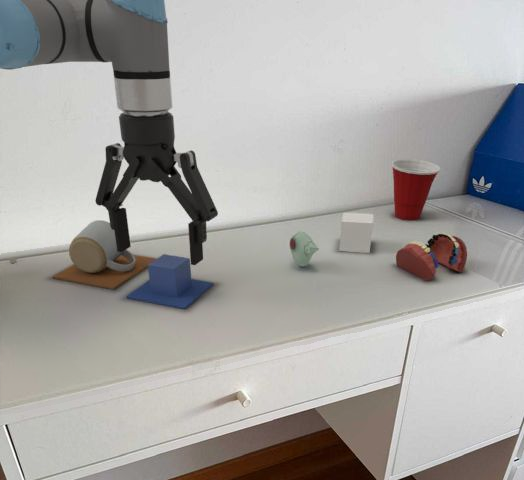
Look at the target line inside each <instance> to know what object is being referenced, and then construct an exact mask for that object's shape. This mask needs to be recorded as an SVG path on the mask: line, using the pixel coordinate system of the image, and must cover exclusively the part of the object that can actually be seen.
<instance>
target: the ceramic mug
mask: <svg viewBox="0 0 524 480" xmlns="http://www.w3.org/2000/svg"><path fill="white" fill-rule="evenodd" d="M68 254H69V258H70V260H71V262H72V263H73V265H75V266H76V267H78V268H79V269H80V270H82V271H84V272H87V273H98V272H100V271H102V270H104V269H105V268H107V267H109V268H110V269H112V270H116V271H119V272H126V271H130V270H132V269H133V267H134V264H135V261H136V260H135V257H134V255H135V254H133V253H132V252H131V251H130V250H129V249H126V250H124V251H122V252H117V245H116V238H115V231H114V230H112V229H111V227H110V221H106V220H101V219H99V220H93V221H91V222H89V223H88V224H87V225H86V227H84V228H83V229H82V230H81V231H80V232H79V233H78V234H76V236H75V237H73V239H72V240H71V243H70V244H69V247H68ZM120 255H123V256H124V257H126V258H127V259H128V260H129V261H130V262H131V264H128V265H122V264H118V263H115V262H114V261H115V260H116V259H117V258H118V257H120Z"/></svg>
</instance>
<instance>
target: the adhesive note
mask: <svg viewBox="0 0 524 480" xmlns="http://www.w3.org/2000/svg"><path fill="white" fill-rule="evenodd" d="M340 223H341V224H340V233H339V234H340V235H339V236H340V237H339V247H338V251H339V252H346V253H347V252H349V253H350V252H351V253H363V254H364V253H365V254H370V253H371V243H372V235H373V228H374V227H373V226H374V225H373V224H374V213H361V212H343V214H342V218H341V221H340Z"/></svg>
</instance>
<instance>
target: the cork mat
mask: <svg viewBox="0 0 524 480" xmlns="http://www.w3.org/2000/svg"><path fill="white" fill-rule="evenodd" d="M133 255H134V257H135V260H136V261H135V264H134V267H133V269H132V270H130V271H126V272H119V271H116V270H112V269H110V268H109V267H107V268H105V269H104V270H102V271H100V272H98V273H87V272H84V271H82V270H80V269H79V268H78V267H76V266H75V265H74V264H73V265H70V266H69V267H67V268H65V269H63V270H62V271H60V272H58V273H56V274H54V275H53V276H52V278H53V279H55V280H61V281H65V282H72V283H76V284H81V285H82V284H83V285H88V286H92V287H93V286H94V287H98V288H103V289H109V290H115V289H117V288H119V287H120V286H121V285H123V284H125V283H126V282H127V281H129V280H130V279H132V278H133V277H135V276H136V275H139V274H140V273H141V272H144V270H146V269H148V264H150V263H151V262H153V261H154V260H156V259H157V258H154V257H149V256H142V255H136V254H133ZM114 262H115V263H118V264H122V265H128V264H131V262H130V261H129V260H128V259H127V258H126V257H124V256H123V255H120V257H118V258H117V259H116V260H115V261H114Z"/></svg>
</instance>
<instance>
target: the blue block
mask: <svg viewBox="0 0 524 480" xmlns="http://www.w3.org/2000/svg"><path fill="white" fill-rule="evenodd" d="M191 268H192V267H191V259H190V257H185V256H177V255H171V254H166V253H165V254H161V256H159V257H157V258H156V260H154V261H153V262H151V263H150V264H148V267H147V271H148V279H149V280H150V288H151V293H155V294H160V295H166V296H171V297H179V296H180V295H181V294H182V293H184V292H185V291H186V290H187V289H188V288H190V287H191V286H192V280H191V279H192V271H191V270H192V269H191ZM149 280H148V281H149Z"/></svg>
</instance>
